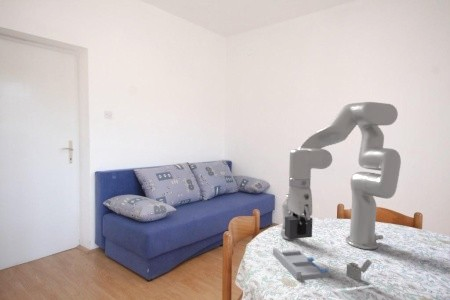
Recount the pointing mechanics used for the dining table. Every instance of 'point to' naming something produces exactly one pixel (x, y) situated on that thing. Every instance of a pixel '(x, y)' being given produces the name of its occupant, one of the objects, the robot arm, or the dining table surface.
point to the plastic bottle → (285, 213)
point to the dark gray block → (292, 225)
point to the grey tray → (299, 264)
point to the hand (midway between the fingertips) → (298, 231)
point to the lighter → (357, 270)
